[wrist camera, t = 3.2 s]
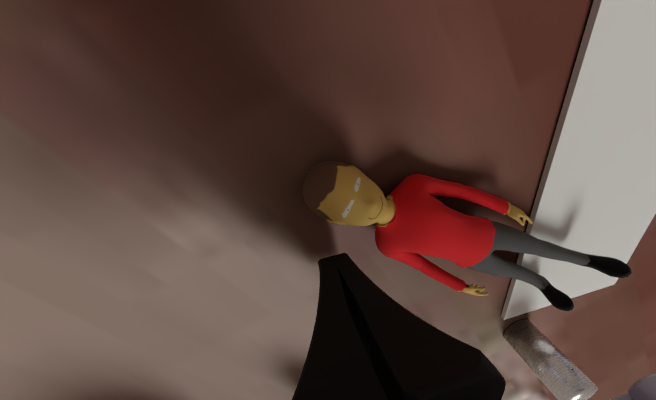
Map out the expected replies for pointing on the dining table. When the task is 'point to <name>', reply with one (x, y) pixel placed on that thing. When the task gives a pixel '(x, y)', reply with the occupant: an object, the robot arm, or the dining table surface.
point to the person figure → (440, 228)
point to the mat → (598, 156)
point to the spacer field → (549, 362)
